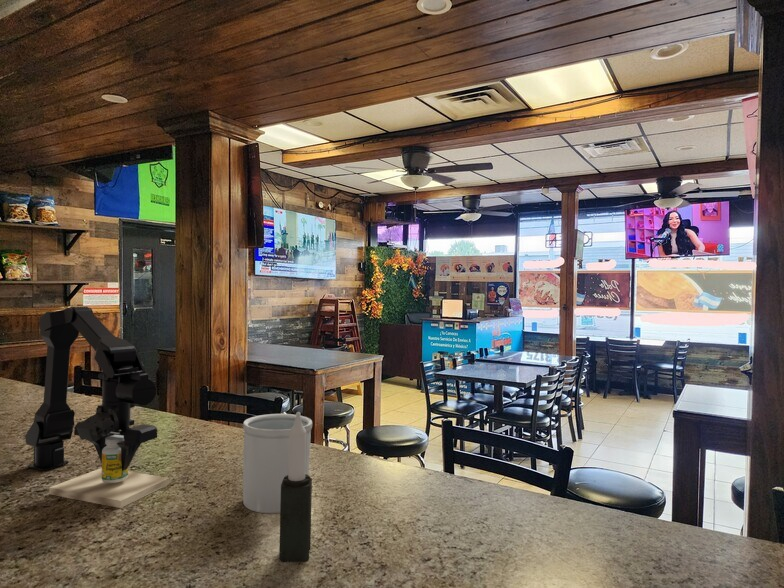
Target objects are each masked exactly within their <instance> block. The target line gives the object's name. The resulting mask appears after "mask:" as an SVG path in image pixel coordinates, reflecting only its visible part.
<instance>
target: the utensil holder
mask: <svg viewBox="0 0 784 588" xmlns="http://www.w3.org/2000/svg"><path fill="white" fill-rule="evenodd" d="M300 418H301V421H302V425H303V427H304V428H305V430H306V467H305V474H307V475H309V472H310V454H311V453H310V452H311V439H312V438H311V433H312V428H313V420H312V419H311V418H310V417H307V416H303V415H300ZM295 419H296V414H291V413H270V414H261V415H256V416H252V417H249V418H246V419H245V420H244V421H243V424H242V426H243V427H242V429H243V431H244V433H243V434H244V436H243V437H244V438H243V440H244V441H243V472H242V475H243V478H242V479H243V481H242V489H243V490H242V492H243V493H242V494H243V495H242V498H243V500H242V501H243V502H242V503H243V505H244V507H245V508H246V509H248V510H250V511H253V512H256V513H262V514H280V502H281V484H282V481H283V479H284V477H285V476H287V475H288V471H289V432H290V430H291V428H292V427H293V425H294V422H295ZM309 476H310V475H309Z"/></svg>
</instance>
